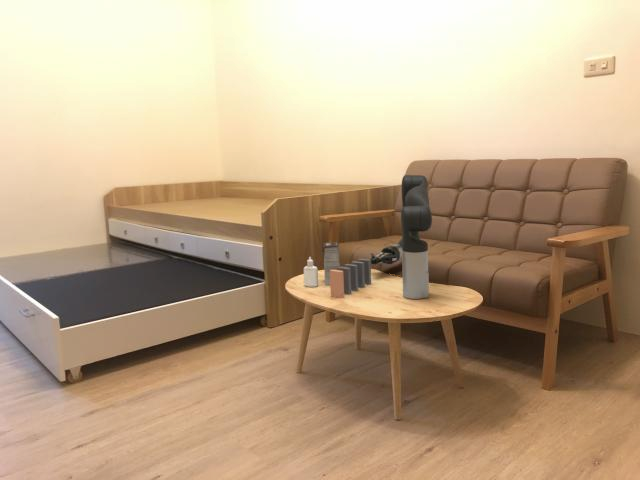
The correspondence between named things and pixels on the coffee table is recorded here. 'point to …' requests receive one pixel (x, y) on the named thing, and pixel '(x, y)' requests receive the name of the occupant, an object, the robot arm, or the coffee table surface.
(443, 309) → the coffee table surface
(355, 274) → the domino
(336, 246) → the coffee box
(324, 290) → the coffee table surface
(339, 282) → the domino
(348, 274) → the domino
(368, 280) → the domino
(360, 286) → the domino
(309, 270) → the eye dropper bottle
